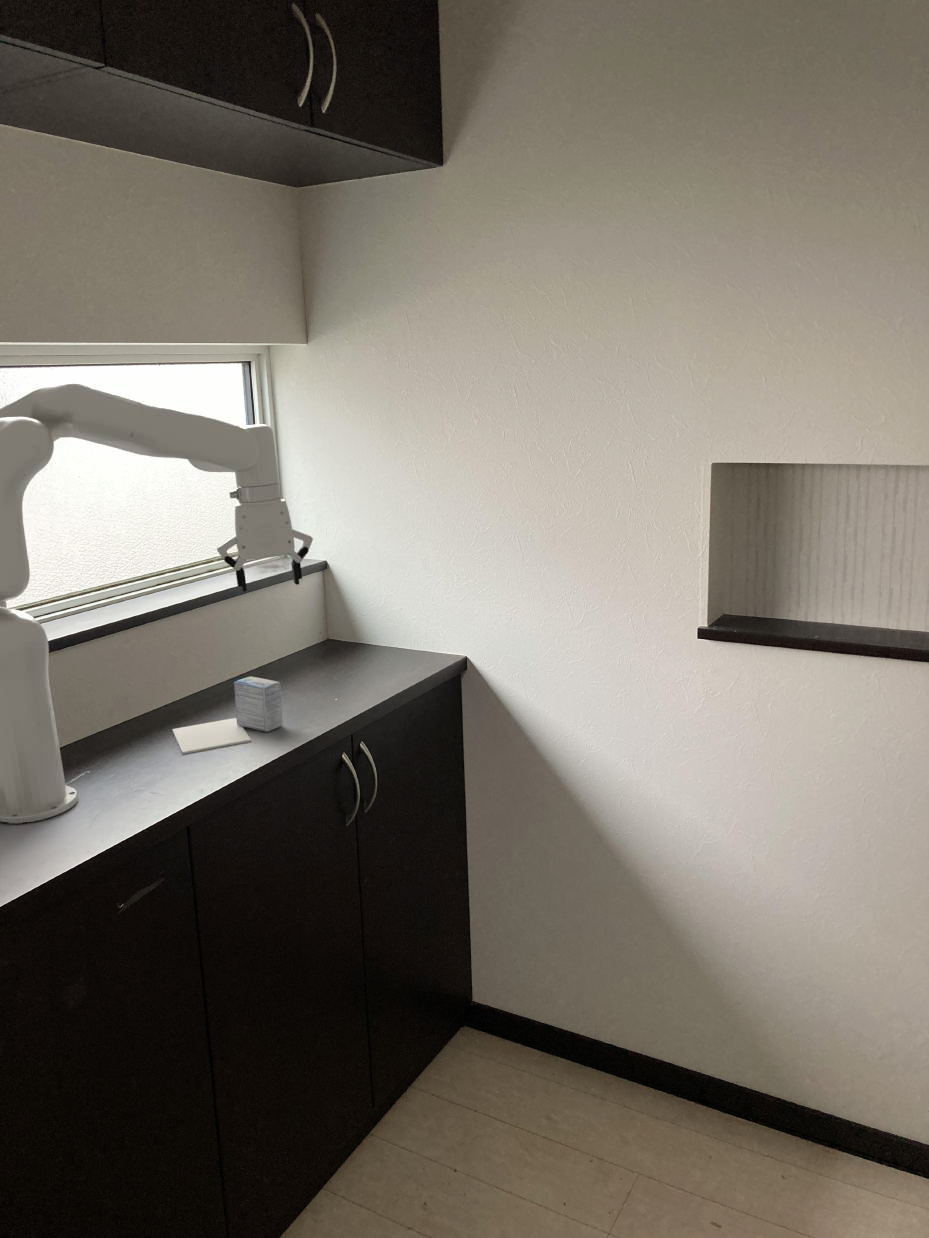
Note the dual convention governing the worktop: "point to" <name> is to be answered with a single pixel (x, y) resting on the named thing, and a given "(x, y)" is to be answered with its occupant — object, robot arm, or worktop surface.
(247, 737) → the mat
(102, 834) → the worktop surface
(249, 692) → the medicine box
